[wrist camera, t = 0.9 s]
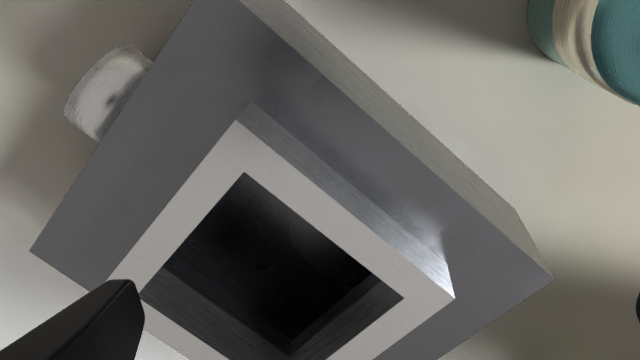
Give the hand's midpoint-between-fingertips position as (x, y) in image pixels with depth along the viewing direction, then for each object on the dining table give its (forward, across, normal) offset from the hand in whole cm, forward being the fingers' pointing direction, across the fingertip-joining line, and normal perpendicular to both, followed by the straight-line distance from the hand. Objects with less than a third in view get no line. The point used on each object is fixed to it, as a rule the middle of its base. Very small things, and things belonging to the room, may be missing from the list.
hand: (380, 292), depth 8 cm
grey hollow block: (+14, +4, +5) cm, 15 cm away
